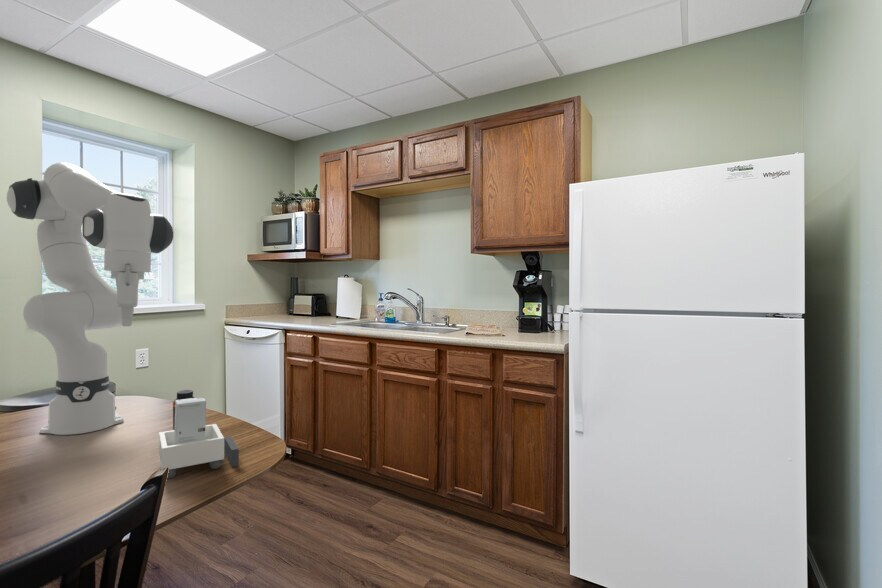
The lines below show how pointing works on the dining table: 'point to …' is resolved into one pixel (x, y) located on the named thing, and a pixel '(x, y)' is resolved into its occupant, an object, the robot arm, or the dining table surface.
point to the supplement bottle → (180, 395)
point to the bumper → (231, 451)
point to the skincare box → (189, 420)
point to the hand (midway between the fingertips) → (126, 323)
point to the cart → (191, 450)
